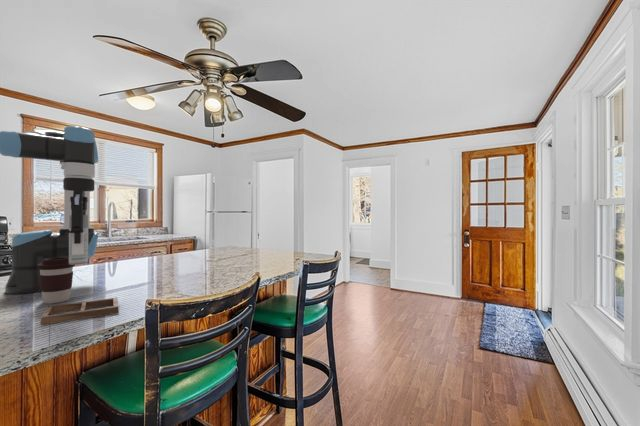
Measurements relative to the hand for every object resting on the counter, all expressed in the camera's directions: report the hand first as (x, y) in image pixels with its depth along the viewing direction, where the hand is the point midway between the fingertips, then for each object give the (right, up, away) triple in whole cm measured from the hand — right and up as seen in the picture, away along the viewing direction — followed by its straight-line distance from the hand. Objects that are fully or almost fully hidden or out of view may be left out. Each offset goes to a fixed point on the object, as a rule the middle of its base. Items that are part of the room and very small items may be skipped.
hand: (78, 253), depth 93 cm
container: (0, -3, 0) cm, 3 cm away
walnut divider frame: (+1, -19, +1) cm, 19 cm away
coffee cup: (-18, -19, +12) cm, 29 cm away
